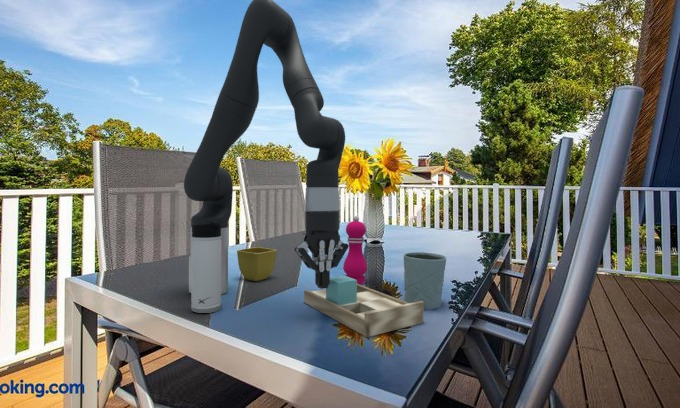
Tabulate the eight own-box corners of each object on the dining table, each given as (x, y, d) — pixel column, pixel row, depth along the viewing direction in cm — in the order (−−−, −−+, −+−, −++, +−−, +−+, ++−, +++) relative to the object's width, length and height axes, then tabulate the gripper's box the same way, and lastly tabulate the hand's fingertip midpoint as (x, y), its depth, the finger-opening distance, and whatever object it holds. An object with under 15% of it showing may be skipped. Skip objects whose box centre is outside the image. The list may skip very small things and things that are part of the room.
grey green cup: (400, 297, 94) (401, 251, 94) (439, 298, 94) (440, 252, 94) (406, 310, 84) (407, 258, 84) (450, 311, 84) (451, 259, 84)
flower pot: (277, 278, 113) (277, 249, 112) (256, 284, 105) (257, 253, 105) (256, 274, 118) (257, 246, 117) (235, 279, 110) (236, 250, 110)
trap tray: (366, 337, 68) (367, 314, 68) (304, 302, 89) (304, 284, 89) (423, 322, 76) (423, 301, 76) (354, 293, 97) (354, 277, 97)
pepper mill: (365, 285, 105) (366, 217, 105) (340, 284, 107) (341, 216, 106) (368, 280, 112) (369, 215, 112) (345, 278, 114) (346, 214, 113)
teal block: (337, 305, 79) (338, 282, 79) (325, 299, 83) (326, 278, 83) (356, 302, 82) (357, 280, 82) (344, 296, 86) (344, 275, 86)
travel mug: (204, 316, 78) (205, 223, 77) (185, 310, 81) (185, 221, 81) (227, 308, 83) (228, 221, 82) (208, 303, 87) (209, 219, 86)
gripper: (338, 207, 86) (338, 280, 87) (287, 208, 79) (287, 288, 79) (357, 208, 80) (356, 287, 80) (303, 210, 72) (303, 296, 73)
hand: (322, 287), depth 80 cm, fingers closed
